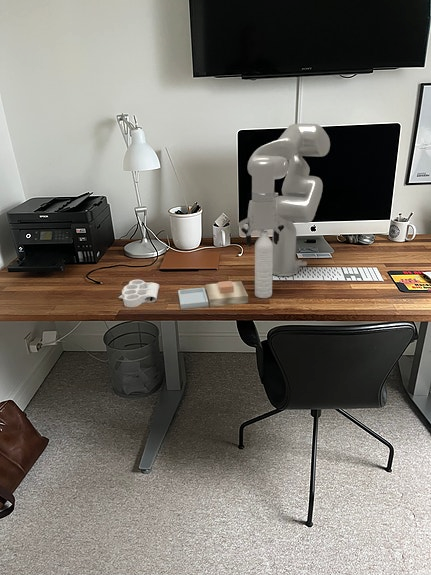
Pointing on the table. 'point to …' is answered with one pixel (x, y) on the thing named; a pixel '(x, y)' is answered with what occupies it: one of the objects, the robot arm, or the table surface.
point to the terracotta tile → (225, 287)
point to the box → (193, 298)
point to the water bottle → (263, 265)
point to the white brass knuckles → (139, 293)
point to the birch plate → (226, 295)
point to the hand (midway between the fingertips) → (262, 244)
